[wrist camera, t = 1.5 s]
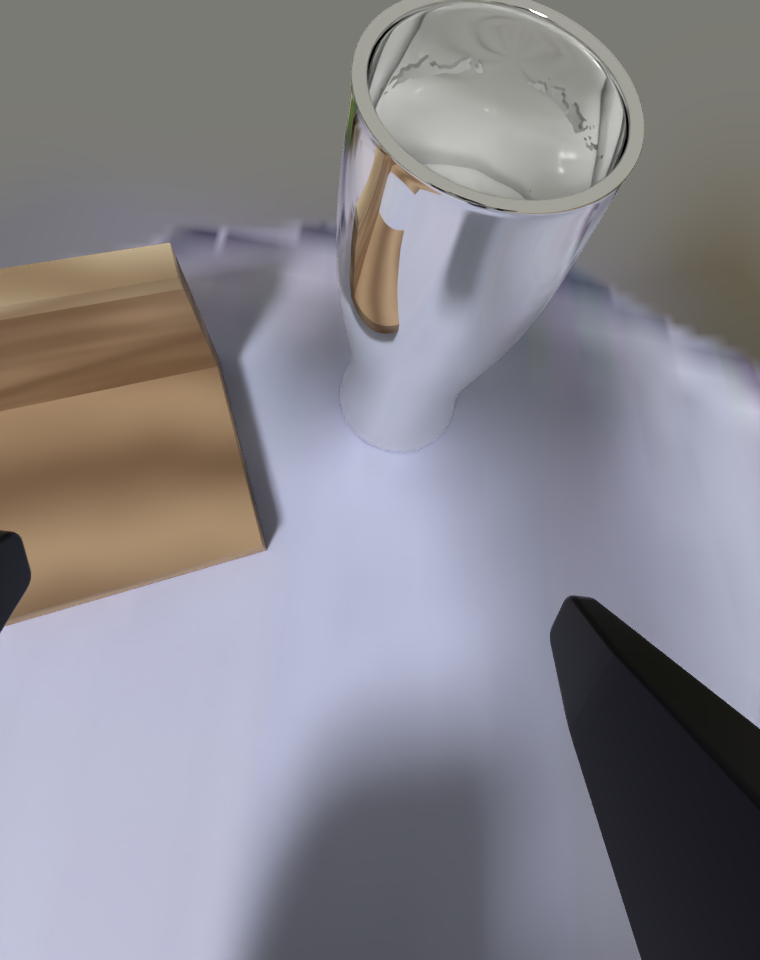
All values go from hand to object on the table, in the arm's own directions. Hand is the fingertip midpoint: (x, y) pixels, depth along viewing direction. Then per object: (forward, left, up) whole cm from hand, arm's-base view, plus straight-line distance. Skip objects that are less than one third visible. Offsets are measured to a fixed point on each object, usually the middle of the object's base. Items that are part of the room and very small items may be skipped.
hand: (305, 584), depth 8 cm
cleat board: (+10, 0, -14) cm, 17 cm away
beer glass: (+2, -11, -14) cm, 18 cm away
